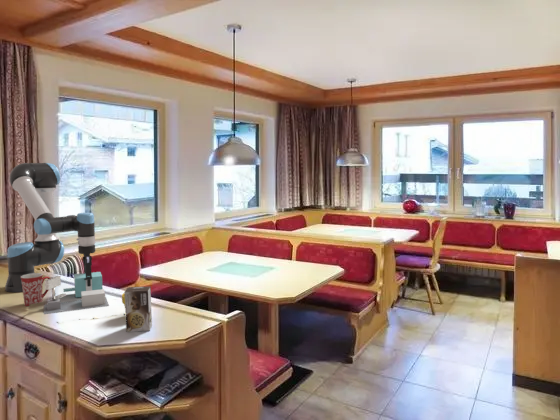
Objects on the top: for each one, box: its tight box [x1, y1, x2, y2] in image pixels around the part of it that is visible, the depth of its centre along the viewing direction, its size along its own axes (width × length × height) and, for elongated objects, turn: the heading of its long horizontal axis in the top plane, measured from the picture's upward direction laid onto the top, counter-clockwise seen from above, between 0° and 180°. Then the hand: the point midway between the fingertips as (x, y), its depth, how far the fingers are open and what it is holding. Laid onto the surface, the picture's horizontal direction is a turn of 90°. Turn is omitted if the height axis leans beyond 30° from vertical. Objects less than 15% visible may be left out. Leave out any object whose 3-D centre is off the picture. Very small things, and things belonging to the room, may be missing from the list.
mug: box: [21, 272, 51, 307], centre depth 209 cm, size 13×9×14 cm
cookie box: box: [124, 286, 153, 333], centre depth 177 cm, size 9×6×16 cm
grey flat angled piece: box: [44, 275, 67, 300], centre depth 200 cm, size 2×11×10 cm, turn 170°
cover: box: [62, 271, 103, 298], centre depth 220 cm, size 10×17×9 cm, turn 116°
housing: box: [43, 289, 110, 315], centre depth 203 cm, size 15×26×6 cm, turn 116°
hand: (88, 289), depth 221 cm, fingers closed on cover, 10 cm apart
